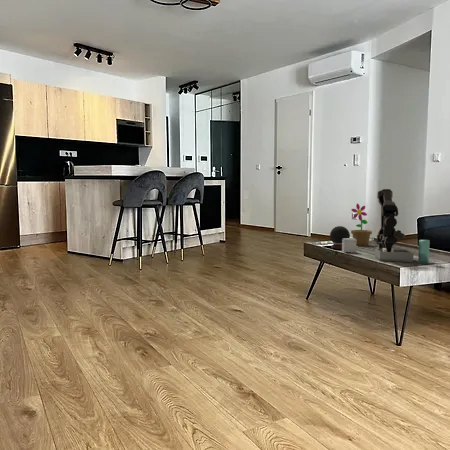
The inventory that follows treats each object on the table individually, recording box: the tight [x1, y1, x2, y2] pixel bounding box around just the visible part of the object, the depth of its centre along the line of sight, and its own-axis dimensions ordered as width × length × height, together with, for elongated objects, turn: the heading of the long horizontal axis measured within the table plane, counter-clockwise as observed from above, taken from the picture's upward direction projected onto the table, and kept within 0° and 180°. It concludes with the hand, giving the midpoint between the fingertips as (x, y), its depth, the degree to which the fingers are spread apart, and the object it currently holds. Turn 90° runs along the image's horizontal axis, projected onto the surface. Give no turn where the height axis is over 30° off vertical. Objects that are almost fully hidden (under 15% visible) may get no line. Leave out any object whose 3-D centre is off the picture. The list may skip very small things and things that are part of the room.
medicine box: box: [341, 237, 357, 254], centre depth 266 cm, size 8×4×9 cm, turn 92°
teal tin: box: [417, 239, 431, 265], centre depth 227 cm, size 5×5×12 cm
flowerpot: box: [350, 203, 373, 247], centre depth 301 cm, size 14×14×30 cm
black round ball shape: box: [329, 225, 351, 250], centre depth 285 cm, size 13×13×15 cm
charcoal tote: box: [374, 248, 414, 263], centre depth 239 cm, size 14×18×5 cm
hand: (387, 253), depth 239 cm, fingers open, 6 cm apart
